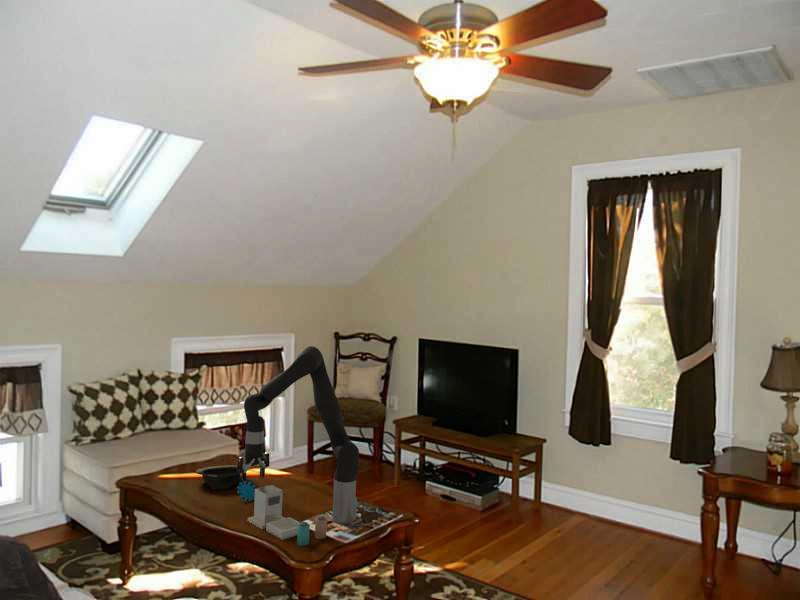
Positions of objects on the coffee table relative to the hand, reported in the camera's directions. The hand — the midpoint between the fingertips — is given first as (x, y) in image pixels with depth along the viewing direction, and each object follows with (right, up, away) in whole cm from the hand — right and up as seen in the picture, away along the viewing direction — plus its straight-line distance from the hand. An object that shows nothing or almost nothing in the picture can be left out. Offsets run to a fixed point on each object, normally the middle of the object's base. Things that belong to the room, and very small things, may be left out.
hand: (252, 479), depth 277 cm
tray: (+17, -16, -17) cm, 29 cm away
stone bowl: (-23, -13, +37) cm, 46 cm away
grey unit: (+8, -15, -8) cm, 19 cm away
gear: (-6, -14, +18) cm, 24 cm away
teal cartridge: (+25, -17, -27) cm, 41 cm away
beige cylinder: (+31, -17, -20) cm, 41 cm away
